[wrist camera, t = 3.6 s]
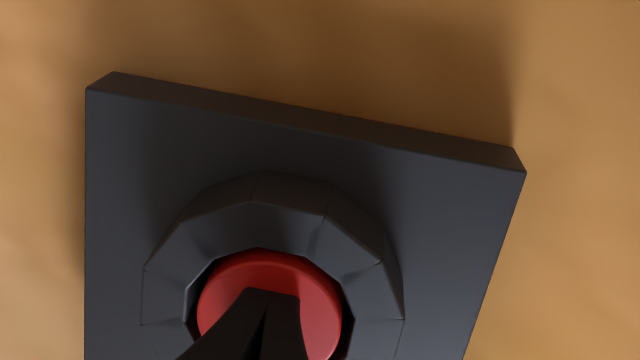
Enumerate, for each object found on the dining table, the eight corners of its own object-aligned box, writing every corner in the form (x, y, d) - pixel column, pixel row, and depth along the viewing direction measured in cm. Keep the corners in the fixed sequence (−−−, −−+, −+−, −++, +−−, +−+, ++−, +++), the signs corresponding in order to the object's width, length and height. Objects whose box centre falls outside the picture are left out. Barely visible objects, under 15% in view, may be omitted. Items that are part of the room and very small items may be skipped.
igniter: (514, 147, 16) (547, 205, 13) (432, 397, 20) (441, 490, 17) (112, 69, 16) (47, 109, 13) (106, 332, 20) (53, 412, 17)
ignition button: (356, 241, 16) (353, 278, 14) (331, 349, 17) (327, 394, 16) (220, 214, 16) (202, 248, 14) (207, 324, 17) (190, 367, 16)
